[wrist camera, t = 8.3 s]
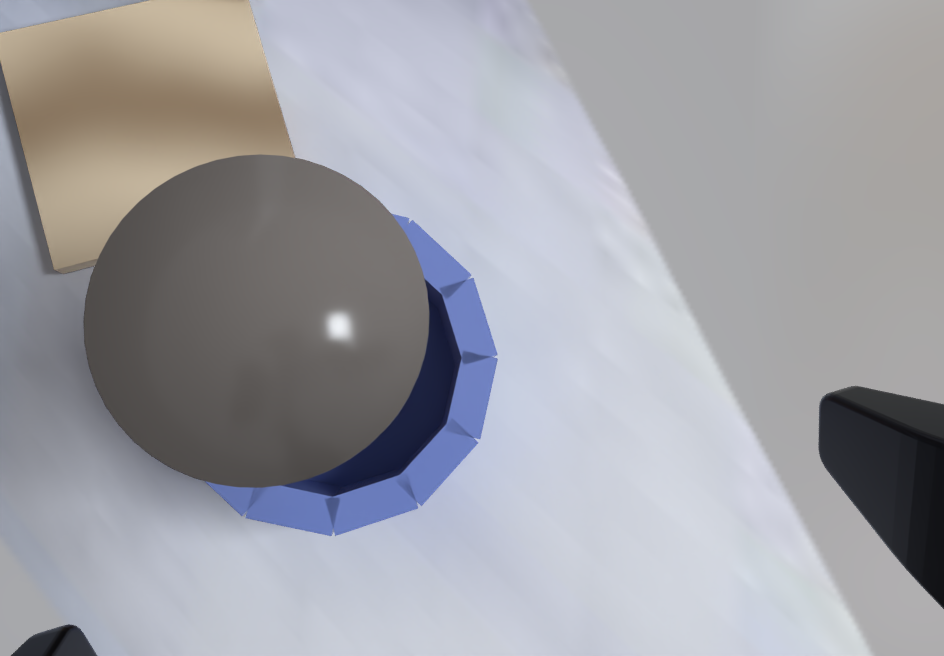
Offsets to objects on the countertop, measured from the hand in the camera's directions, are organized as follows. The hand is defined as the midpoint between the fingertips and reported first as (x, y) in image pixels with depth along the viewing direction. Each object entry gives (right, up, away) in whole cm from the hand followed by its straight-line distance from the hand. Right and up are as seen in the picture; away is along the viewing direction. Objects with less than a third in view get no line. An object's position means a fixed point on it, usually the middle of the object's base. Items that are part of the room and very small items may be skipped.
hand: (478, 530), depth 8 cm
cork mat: (-10, +9, +14) cm, 20 cm away
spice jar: (-4, +1, +13) cm, 14 cm away
